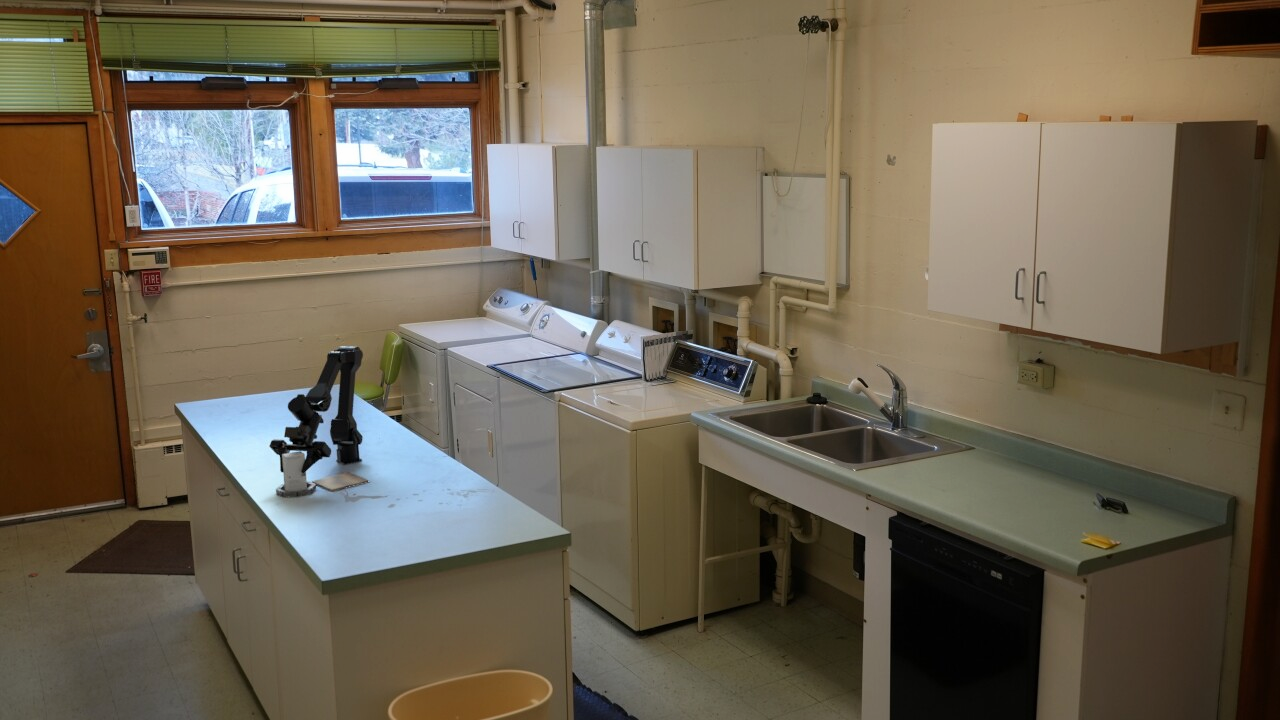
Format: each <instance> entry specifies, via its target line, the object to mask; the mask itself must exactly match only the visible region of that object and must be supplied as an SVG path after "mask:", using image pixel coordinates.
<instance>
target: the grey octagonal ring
mask: <svg viewBox="0 0 1280 720" xmlns="http://www.w3.org/2000/svg"><path fill="white" fill-rule="evenodd" d="M306 481H307V489H303V490H299V491H285V487H284V483H283V484H279V486H278V487H276V488H275V494H276V495H277V496H279V495H280V496H279V497H281V496H282V497H281V498H298V497H303V496H307V495H312V494H313V493H314V492H315V491H316V490H317V485H316V484H315V483H312V481H309V480H306Z"/></svg>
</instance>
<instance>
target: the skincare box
mask: <svg viewBox="0 0 1280 720" xmlns="http://www.w3.org/2000/svg"><path fill="white" fill-rule="evenodd" d="M305 459H306V456H305V453H304V452H303V451H293V452H289V453H287V454H282V461H283V472H282V473H283V482H284V483H283V484H284V487H285V490H284V491H299V490H303V489H307V488H308V487H307V481H308V480H307V471H306V472H305V473H302V472H301V471H302V467H303V464H304V461H305Z"/></svg>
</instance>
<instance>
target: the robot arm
mask: <svg viewBox="0 0 1280 720" xmlns="http://www.w3.org/2000/svg"><path fill="white" fill-rule="evenodd" d="M363 353H364V352H363V350H361V348H360V347H359V346H352V345H351V346H345V345H343V346H342V345H341V346H339V347H338V348H337V349H333V350H332V351H329V352H328V353H327V355H326V362H325V364H324V366H323V369H322V371H321V373H320V375H319V378H318V380H317V382H316V383H315V385H314V386H313V387H312V388H310V389H309V391H308V392H307V393H306V395H304V394H303V393H302V394H301V393H298V394H297V396H296V397H294V398H292V399H291V400H290V401H289V402H288V404H287V409H288V411H289V412H290V413H291V414H292V415H293V416H294V418H295V419H296V420H297V421H299V424H298V426H294V427H293V426H286V427H285V430H284V435H283V437H284V438H288V441H289V442H290V443H287V442H286V441H285V439H275V438H274V439H272V440H271V441H270V443H269V448H270V449H271V450H272V451H273V452H274V453H275V455H277V456H279V463H280V465H279V467H280V473H283V461H282V454H287V453H291V451H293V452H300V451H301V452H306V456H305V461H304V464H303V467H302V471H301V472H302V473H305V472H306V473H307V471H308V470H310V468H311V467H312V466H314V465H315V464H316V463H317V462H318V461H319V460H323V458H330V457H331V454H332V449H331V448H330V446H329V445H328V444H327V442H325V441H324V440H323V441H319V440H318V441H317V440H316V439H317V438H318V435H317V431H318V429H319V426H320V424H324V418H323V416H322V414H320V413H322V412H323V413H325V412H328V411H329V409H330V407H331V402H332V400H333V399H332V394H331V392H332V389H333V387H334V384H335V382H336V379H337V378H338V375H339V388H338V389H339V390H338V391H339V392H338V401H337V402H338V404H337V414H336V416H335V417H334V418H332V419H331V420H330V428H329V435H330V438H331V442H332V445H333V446H337V447H336V448H337V449H336V460H335V462H337V463H341V464H343V465H349V464H354V463H357V462H362V461H363V459H362V458H360V448H359V445H362V443H363V437H364V436H363V435H362V434H361V433H360V432H359V429H358V427H357V426H358V423H357V421H356V420H355V417H354V416H353V414H354V399H355V387H356V386H355V385H356V384H355V383H356V373H357V371H358V370H359V369H360V367H361V366H362V360H363V356H364V354H363ZM339 372H340V374H339ZM319 412H320V413H319Z"/></svg>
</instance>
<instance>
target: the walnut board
mask: <svg viewBox="0 0 1280 720" xmlns="http://www.w3.org/2000/svg"><path fill="white" fill-rule="evenodd" d="M368 481H369V482H370V480H369V479H367V478H364V477H362V476H359V475H357V474H354V473H351V472H349V471H348V472H344V473H340V474H335V475H331V476H328V477H324V478H320V479H319V478H318V479H315V480H311V482H312V483H315V484H316V486H318V487H320V488H323V489H325V490H327V491H330V492H335V490H336V491H339V490H338V489H340V490H343V489H347V488H350V487H349V486H351V487H354V486H353V485H355V486H358V485H357V484H359V485H362V484H361V483H363V484H366V483H365V482H367V483H369V482H368ZM346 487H347V488H346ZM342 488H343V489H342Z"/></svg>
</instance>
